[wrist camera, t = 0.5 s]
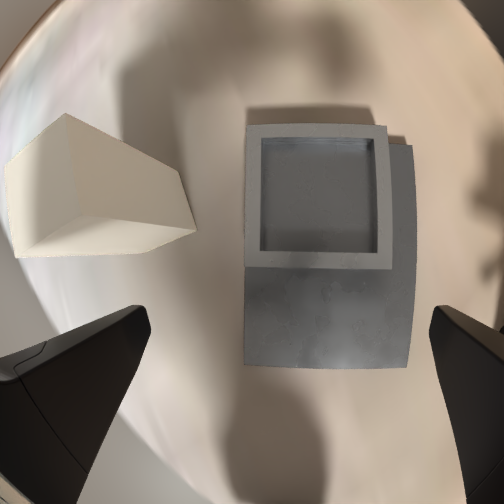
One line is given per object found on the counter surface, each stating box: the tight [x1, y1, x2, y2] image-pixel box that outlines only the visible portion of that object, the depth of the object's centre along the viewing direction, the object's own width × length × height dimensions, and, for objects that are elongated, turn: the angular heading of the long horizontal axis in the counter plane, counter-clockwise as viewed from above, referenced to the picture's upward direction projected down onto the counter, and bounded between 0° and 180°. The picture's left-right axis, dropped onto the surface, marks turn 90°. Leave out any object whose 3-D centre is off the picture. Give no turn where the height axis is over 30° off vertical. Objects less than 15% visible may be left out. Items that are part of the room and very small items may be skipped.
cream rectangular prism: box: [4, 113, 197, 258], centre depth 18 cm, size 5×5×13 cm
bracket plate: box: [244, 123, 417, 369], centre depth 20 cm, size 17×12×2 cm
